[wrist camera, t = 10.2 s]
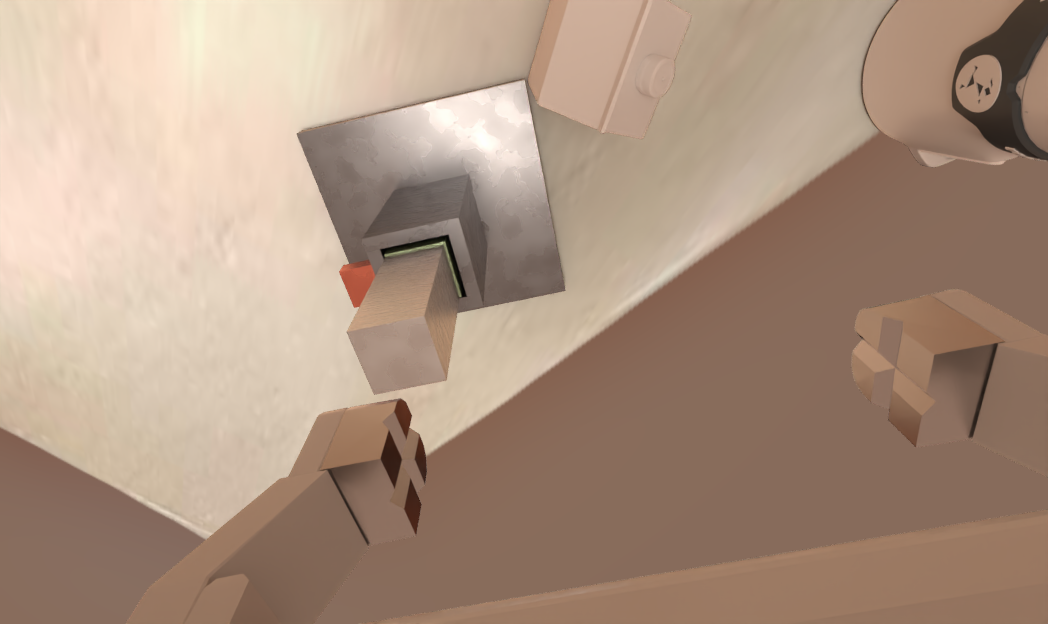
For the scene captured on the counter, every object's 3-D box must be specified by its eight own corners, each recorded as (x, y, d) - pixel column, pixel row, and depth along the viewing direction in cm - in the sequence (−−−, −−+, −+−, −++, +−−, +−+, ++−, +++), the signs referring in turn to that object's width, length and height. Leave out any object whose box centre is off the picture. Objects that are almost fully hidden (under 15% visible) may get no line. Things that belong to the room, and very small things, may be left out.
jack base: (523, 78, 45) (532, 97, 32) (563, 284, 54) (581, 359, 42) (302, 130, 46) (229, 167, 34) (379, 322, 55) (343, 405, 43)
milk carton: (526, 82, 45) (541, 113, 28) (553, -10, 42) (587, -37, 25) (603, 108, 46) (661, 152, 29) (634, 20, 43) (719, 14, 26)
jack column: (453, 208, 43) (425, 313, 27) (467, 257, 45) (448, 381, 29) (402, 220, 43) (343, 330, 27) (418, 268, 45) (372, 396, 29)
